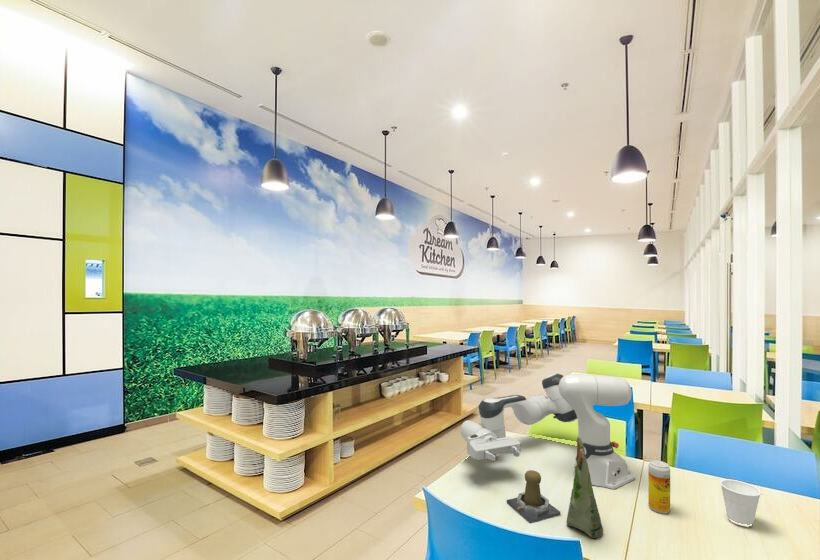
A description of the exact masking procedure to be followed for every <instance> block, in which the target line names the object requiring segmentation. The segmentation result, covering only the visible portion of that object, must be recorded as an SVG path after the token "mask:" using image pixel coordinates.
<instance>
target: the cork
mask: <svg viewBox="0 0 820 560" xmlns="http://www.w3.org/2000/svg"><path fill="white" fill-rule="evenodd" d="M524 479H525V488H524V492H525V495H524V503H525V504H527V505H531V506H535V507H538V506H542V500H541V495H542V494H541V486H540V485H541V484H540V483H541V481H542V476H541V473H540V472H538V471H537V470H531V469H529V470H527V471H525V474H524Z"/></svg>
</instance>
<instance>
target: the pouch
mask: <svg viewBox="0 0 820 560" xmlns="http://www.w3.org/2000/svg"><path fill="white" fill-rule="evenodd" d="M576 456H577V457H575V462H576V461H577V465H576V466H575V468H574V470H575V475H574V477H573V482H572V483H573V486H572V489H571V493H570V500H569V505H568V510H567V511H568V512H567V518H566V525H567V526H569V527H573V528H575V529H578V530H580V531H581V532H584V533H585V534H587V535H588V536H589V537H591V538H592V539H594V538H595V539H596V538H599V537H600V536H602V535H603V533H604V528H603V525H602V522H601V521H602V520H601V515H600V513H599V508H598V504H597V500H596V498H595V492H594V488H593V485H592V483H591V477H590V473H589V468H588V464H587V460H586V456H585V451H584V446H583V443H582V441H581V439H580V438H579V439H578V448H576Z"/></svg>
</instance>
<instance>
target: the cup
mask: <svg viewBox="0 0 820 560" xmlns="http://www.w3.org/2000/svg"><path fill="white" fill-rule="evenodd" d="M719 485H720V487H721V491H722V496H723V500H724V501H723V502H724V506H725V511H726V517H728V518H729V519H731V520H733V521H735V522H737V523H741V524H747V525H750V524H753V525H754V523H755V517H756V515H757V514H756V513H757V509H758V504H759V502H760V501H759V500H760V497H761V495H762V492H761V490H760V489H759V488H758V487H756V486H755V485H752V484H750V483H747V482H744V481H741V480H736V479H730V478H727V479H721V480H720V481H719ZM728 518H727V519H728ZM729 519H728V520H729Z"/></svg>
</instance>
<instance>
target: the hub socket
mask: <svg viewBox="0 0 820 560" xmlns="http://www.w3.org/2000/svg"><path fill="white" fill-rule="evenodd" d="M524 495H525V491H524V492H519V493H518V495H517V497H513V498H509V499H506V504H507V505H508V506H509V507H511V509H512V510H514V511H515V512H516V513H518V514H519V515H520V516H521V517H522V518H523V519H524V520H525V521H527V522H528V523H529V524H532V523H535V522H540V521H543V520H547V519H552V518H555V517H558V516H561V511H560V510H559V509H557V508H556V507H555V506H553V505H552V504H551V503H550V499H548V498H547V497H546V496H544V495H543V494H541V500H542V506H538V507H535V506H531V505H527V504H525V503H524Z"/></svg>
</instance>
